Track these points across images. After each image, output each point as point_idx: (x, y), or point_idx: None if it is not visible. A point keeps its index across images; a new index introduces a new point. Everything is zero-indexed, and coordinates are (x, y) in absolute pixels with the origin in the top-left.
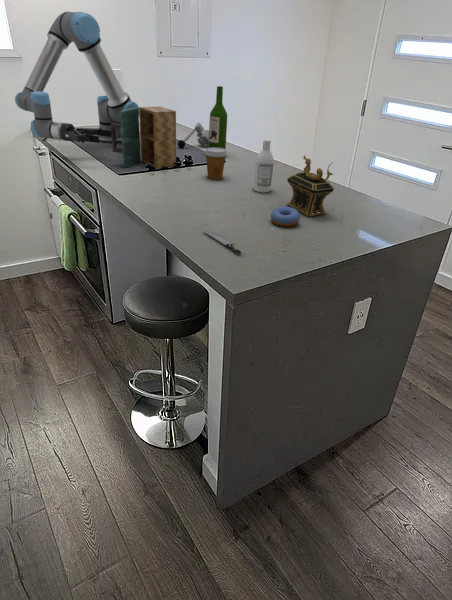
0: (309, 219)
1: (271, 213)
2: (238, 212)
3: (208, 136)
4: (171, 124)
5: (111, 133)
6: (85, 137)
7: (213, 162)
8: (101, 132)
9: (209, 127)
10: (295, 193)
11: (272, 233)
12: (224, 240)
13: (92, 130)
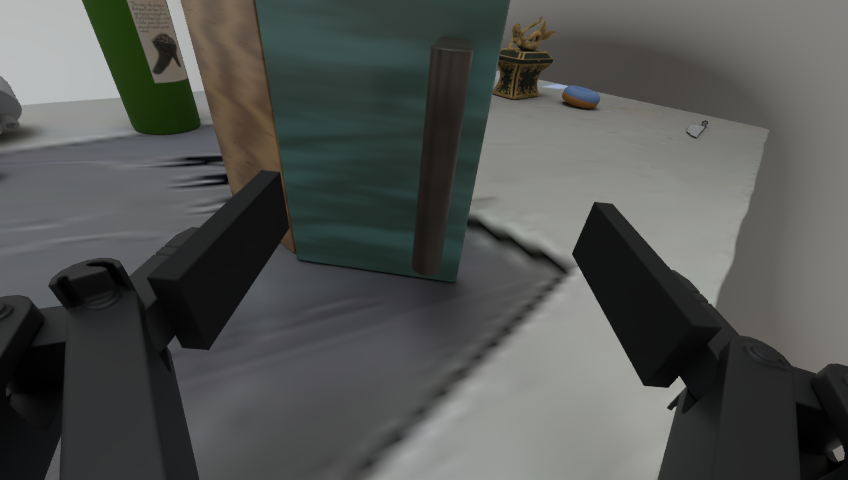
0: (546, 97)
1: (591, 98)
2: (587, 121)
3: (4, 85)
4: None
5: (450, 151)
6: (716, 317)
7: None
8: (206, 293)
9: (126, 27)
10: (520, 78)
11: (619, 111)
12: (695, 127)
13: (161, 417)
